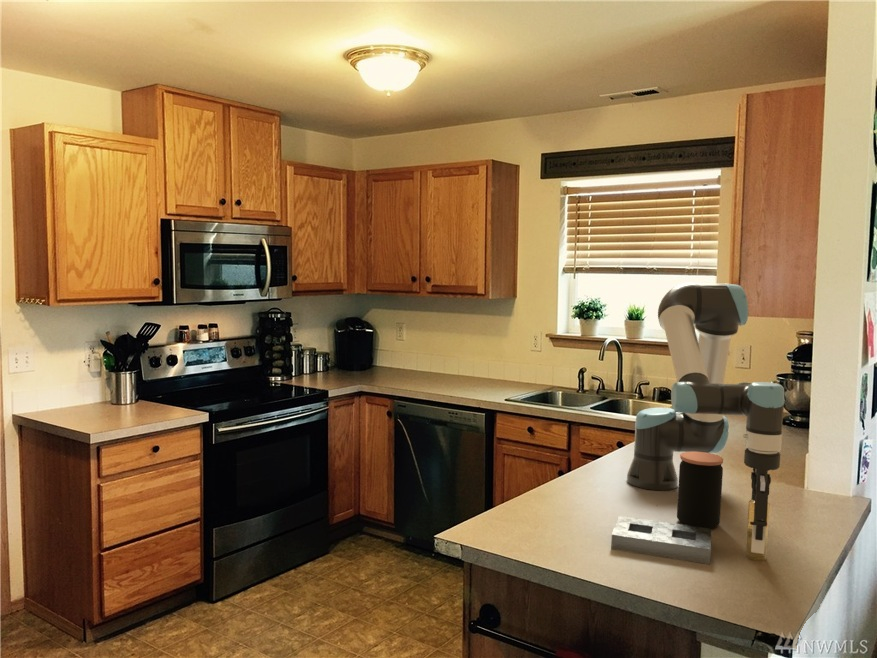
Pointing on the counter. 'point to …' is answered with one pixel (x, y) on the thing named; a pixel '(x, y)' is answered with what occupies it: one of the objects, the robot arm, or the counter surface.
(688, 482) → the coffee jar
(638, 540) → the block
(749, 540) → the yellow translucent cylinder
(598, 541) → the counter surface
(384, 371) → the counter surface
